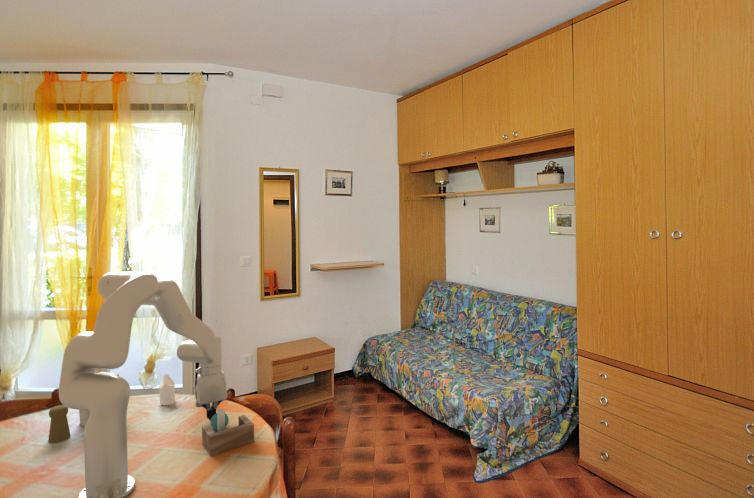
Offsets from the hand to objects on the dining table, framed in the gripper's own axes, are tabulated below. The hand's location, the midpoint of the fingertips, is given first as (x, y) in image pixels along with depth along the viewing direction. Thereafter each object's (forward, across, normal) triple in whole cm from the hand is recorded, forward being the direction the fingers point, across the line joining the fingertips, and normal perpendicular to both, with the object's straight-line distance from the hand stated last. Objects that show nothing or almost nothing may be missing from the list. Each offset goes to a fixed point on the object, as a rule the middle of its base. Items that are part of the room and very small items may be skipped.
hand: (211, 419), depth 150 cm
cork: (+2, -44, +20) cm, 48 cm away
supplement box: (+2, -32, +27) cm, 42 cm away
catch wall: (+1, 0, -19) cm, 19 cm away
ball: (-2, +1, -7) cm, 7 cm away
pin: (+1, 0, -11) cm, 11 cm away
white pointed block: (+2, -9, +30) cm, 31 cm away
